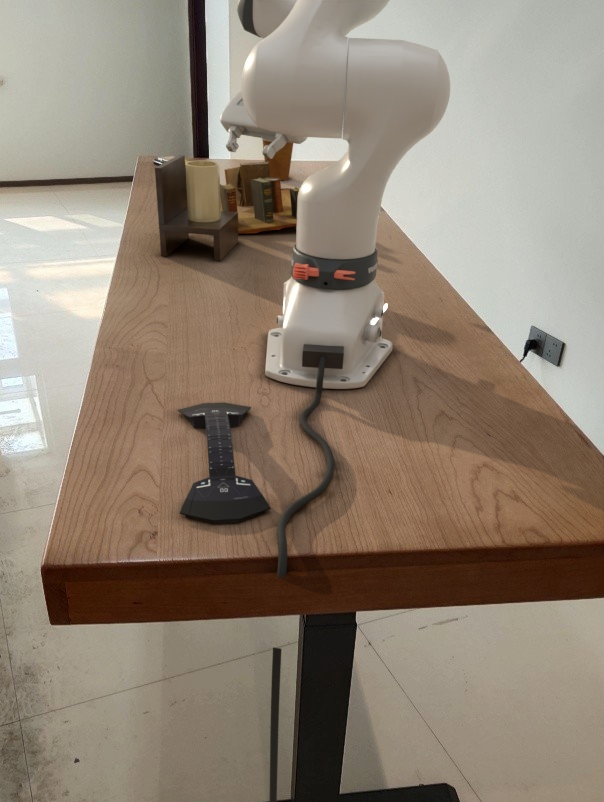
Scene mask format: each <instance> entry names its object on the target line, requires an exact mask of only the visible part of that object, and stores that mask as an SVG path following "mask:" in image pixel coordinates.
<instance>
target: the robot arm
mask: <svg viewBox="0 0 604 802" xmlns="http://www.w3.org/2000/svg"><path fill="white" fill-rule="evenodd" d="M389 2H390V0H238V3H237V9H236V12H237V16H238V18H239V21H240V24H241V26H242V28H243V30H244V31H245V32H247V33H249V34H252V35H253V36H256V37H258V38H261V40H259V41H258V42H257V43H256V44H255V45H254V46H253V48H252V49H251V51H250V52H249V54H248V55H247V57H246V59H245V62H244V66H243V68H242V72H241V78H240V79H241V80H240V91H238V92H237V93H235V94H234V95H233V97H232V98H231V99H230V100H229V102H228V103H227V105H226V106H225V107H224V109H223V110H222V112H221V114H220V116H219V120H220V123H221V125H222V127H223V129H224V130H225V131H226V132H227V133H228V140H227V142H226V144H225V148H226V149H227V151H228V152H230V153H236V152H237V150H238V149H239V147H240V146H239V144H238V142H237V141H238V139H239V138H241V136H246V137H254V138H259V139H262V138H265V139H271V140H274V141H273V142H272V143H271V144H270V145H266V146H265V147H264V149H262V151H261V152H262V155H263V158H264V157H265V158H269V159H272V158H273V156H274V155H275V153H276V152H277V151H279V150H280V149H281V148H282V147H284V146H285V144H286V142H290V143H293V144H295V145H296V144H297V145H301V144H302V143H304V142H305V141H307V139H308V138H317V139H319V138H320V139H342V140H343V141H346V142H347V143H348V147H347V149H346V152H345V153H344V155H343V156H342V157H341V158H339V160H337V161H335V162H333V163H331V164H329V165H326V166H325V167H322V168H321V169H319V170H317V171H315V172H313V173H312V174H310V175H309V176H308V177H307V178H306V179H305V180H304V181H303V183H302V184H301V186H300V187H299V188H298V189H299V192H298V197H297V226H296V228H295V229H296V234H295V244H294V245H293V247H292V254H291V259H290V264H291V267H290V276H291V277H290V278H289V279H287V280H286V281H285V282H283V299H282V300H283V301H282V302H283V303H282V304H283V305H282V315H277V317H276V324H277V326H281V327H275V328H272V329H269V330H268V333H267V341H266V342H267V344H266V354H265V355H266V356H265V367H264V369H265V370H264V375H265V377H268V378H270V379H271V380H274V381H278V382H281V383H284V384H285V383H286V384H290V385H295V386H301V387H308V388H315V393H314V397H313V400H312V402H311V403H310V405H309V406H308V407H306V408H305V409H304V410H302V411H301V413H300V414H299V425H300V427H301V429H302V430H303V431H304V433H306V434H307V436H308V437H310V438H311V439H312V440H313V441H315V443H316V444H318V446H320V447H321V449H322V450H323V453H324V456H325V460H326V471H325V474H324V476H323V478H322V481H321V482H320V483H319V485H317V487H315V488H314V489H312V490H311V491H310V492H308V493H307V494H305V495H303V496H302V497H300V498H298V499H296V500H295V501H294V502H293V503H291V504H290V505H289V506H287V508H286V509H285V510H284V511H283V513H282V514H281V516H280V518H279V520H278V522H277V527H276V538H277V550H278V553H277V554H278V555H277V556H278V557H277V573H276V574H277V577H278V578H280V579H284V578H286V576H287V571H288V542H287V533H286V528H287V525H288V523H289V520H290V519H291V517H292V516H293V515H294V514H295V513H296V512H297V511H299V509H301V508H302V507H304V506H305V505H307V504H309V503H310V502H312V501H314V500H315V499H317V498H318V497H320V496H321V495H322V494H323V493H324V492H325V491H326V490H327V489H328V487H329V486H330V484H331V482H332V481H333V480H332V479H333V477H334V474H335V458H334V454H333V451H332V449H331V446H330V445H329V443H327V441H326V439H324V437H322V436H321V435H320V434H319V433H318V432H317V431H315V430H314V429H313V428H312V427H311V426H310V425H309V424H308V421H307V417H308V416H309V415H310V414H312V412H313V411H314V410H315V409H316V408H317V407H318V406H319V404H320V402H321V398H322V395H323V389H331V390H351V389H358V388H364V387H365V386H366V385H367V384H368V383H369V381H370V380H371V379H372V377H373V376H374V375H375V374H376V373H377V371H378V370H379V368H381V366H382V365H383V364H384V362H385V361H386V360H387V358H388V357H389V356H390V354H391V353H392V352H393V342H392V341H390V340H388V339H386V338H384V337H382V333H383V320H384V313H385V312H386V311H387V309H388V305H389V304H388V303H385V292H384V290H382V288H380V287H379V285H378V283H377V282H376V280H375V279H376V276H377V269H378V264H379V258H378V256H379V255H378V253H379V252H378V249H377V248H376V243H377V233H378V226H379V218H380V212H381V207H382V201H383V197H384V193H385V189H386V187H387V184H388V182H389V180H390V178H391V175H392V174H393V172H394V170H395V169H396V167H397V166H398V164H399V163H400V161H401V160H402V159H403V158H404V156H406V154H407V153H408V152H409V151H410V150H411V149H412V148H413V147H414V146H415V145H417V144H418V143H419V142H420V141H421V140H423V139H424V138H426V137H428V136H429V135H430V134H431V133H432V132H433V131H435V129H436V128H437V126H438V125H439V124H440V123H441V120H442V119H443V118H444V116H445V113H446V112H447V109H448V105H449V102H450V97H451V79H450V73H449V69H448V66H447V64H446V61H445V60H444V58H443V56H442V54H441V53H440V52H439V51H438V50H437V49H435V48H433V47H429V46H426V45H423V44H420V43H417V42H411V41H407V40H404V39H387V38H365V37H364V38H363V37H349V36H347V35H348V34H349V33H350V32H351V31H353V30H355V29H356V28H358V27H359V26H362V25H364V24H366V23H368V22H370V21H371V20H372V19H375V17H377V16H378V15H379V14H380V13H381V12H382V11H384V9H385V7H387V5H388V4H389ZM271 663H272V664H271V687H270V691H271V692H270V727H269V729H270V730H269V731H270V732H269V734H270V735H269V736H270V737H269V739H270V740H269V745H270V746H269V799H268V800H269V802H278V798H277V797H278V761H279V727H280V726H279V724H280V693H281V691H280V690H281V668H282V666H281V665H282V648H279V647H272V662H271Z"/></svg>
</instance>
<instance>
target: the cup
mask: <svg viewBox="0 0 604 802" xmlns="http://www.w3.org/2000/svg"><path fill="white" fill-rule="evenodd" d="M185 173H186V192H187V212H188V219H189V220H191V221H194V222H215V221H218V220H220V218H221V217H220V216H221V208H220V184H221V173H220V163H219V162H217V161H214V160H203V159H202V160H201V159H200V160H198V159H197V160H189V161H185Z"/></svg>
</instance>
